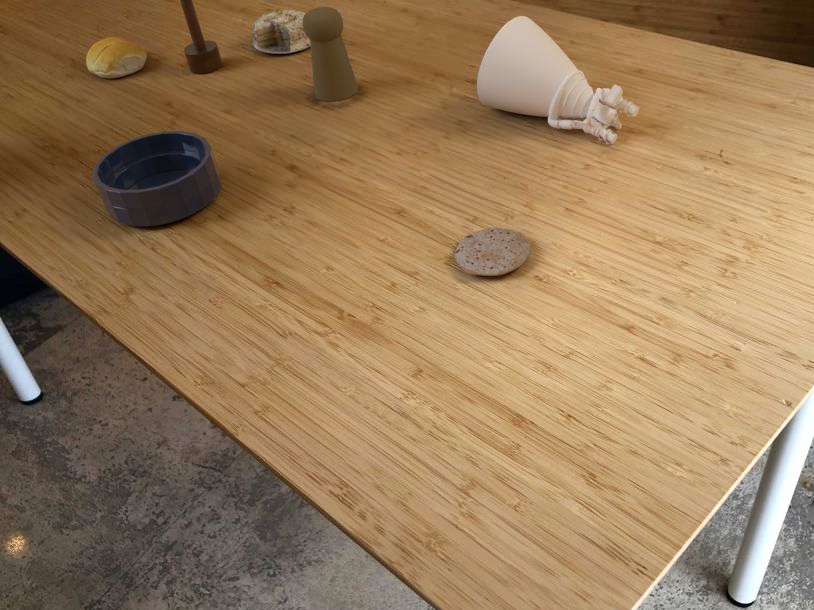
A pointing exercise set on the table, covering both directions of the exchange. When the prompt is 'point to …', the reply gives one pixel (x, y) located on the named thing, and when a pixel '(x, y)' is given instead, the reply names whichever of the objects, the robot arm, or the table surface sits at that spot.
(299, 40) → the cake
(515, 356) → the table surface
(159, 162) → the bowl
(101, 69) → the bread roll
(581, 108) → the rocket engine
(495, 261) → the flatbread
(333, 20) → the olive game pawn
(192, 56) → the brown pestle
